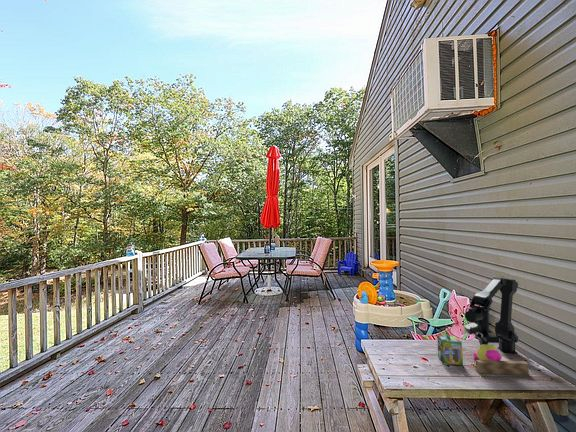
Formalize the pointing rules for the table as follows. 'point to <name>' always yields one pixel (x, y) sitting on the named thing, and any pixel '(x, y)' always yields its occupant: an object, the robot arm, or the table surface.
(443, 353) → the chalk box
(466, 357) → the table surface
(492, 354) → the toy
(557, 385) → the table surface
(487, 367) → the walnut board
